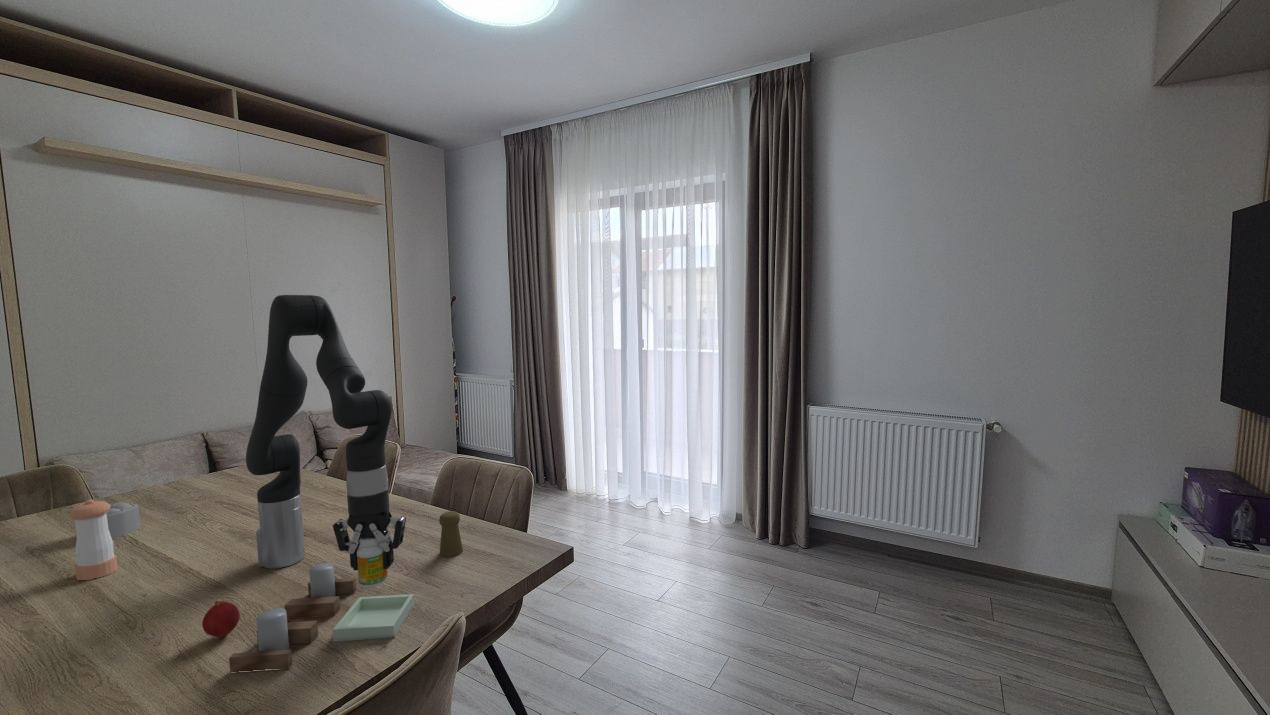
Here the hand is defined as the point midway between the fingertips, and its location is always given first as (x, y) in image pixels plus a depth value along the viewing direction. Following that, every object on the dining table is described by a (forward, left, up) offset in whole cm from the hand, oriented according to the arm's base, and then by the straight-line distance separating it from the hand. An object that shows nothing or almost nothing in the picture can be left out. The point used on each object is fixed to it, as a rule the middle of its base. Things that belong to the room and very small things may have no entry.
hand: (372, 567), depth 107 cm
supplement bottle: (0, 0, -3) cm, 3 cm away
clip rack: (-15, 0, -12) cm, 19 cm away
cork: (+7, +31, -12) cm, 34 cm away
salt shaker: (-80, +29, -12) cm, 86 cm away
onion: (-29, -2, -12) cm, 31 cm away
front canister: (-15, -9, -12) cm, 21 cm away
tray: (0, 0, -12) cm, 12 cm away
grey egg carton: (-99, +55, -12) cm, 114 cm away
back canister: (-15, +9, -12) cm, 21 cm away
